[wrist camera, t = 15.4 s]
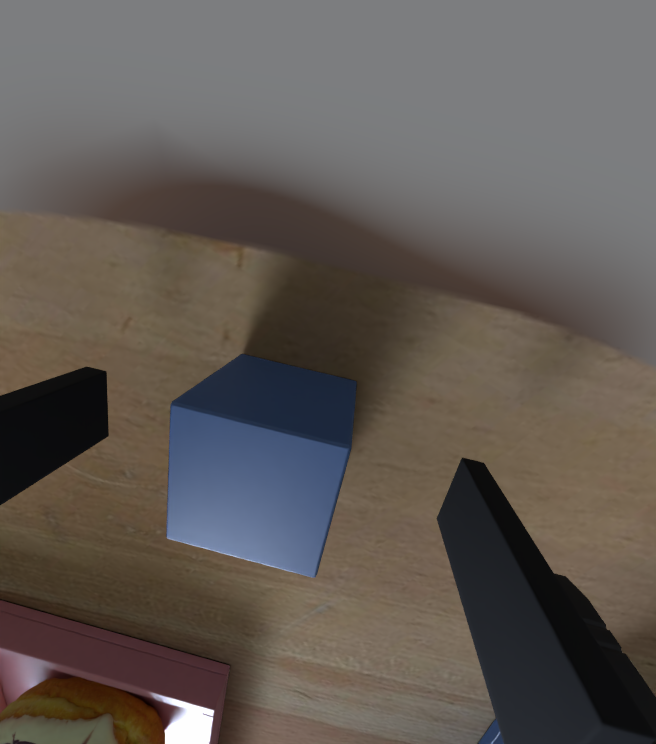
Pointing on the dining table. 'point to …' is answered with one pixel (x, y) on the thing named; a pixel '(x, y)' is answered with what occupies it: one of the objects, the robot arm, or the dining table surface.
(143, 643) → the rose tray
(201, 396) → the blue block
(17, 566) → the dining table surface
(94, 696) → the decorated donut
